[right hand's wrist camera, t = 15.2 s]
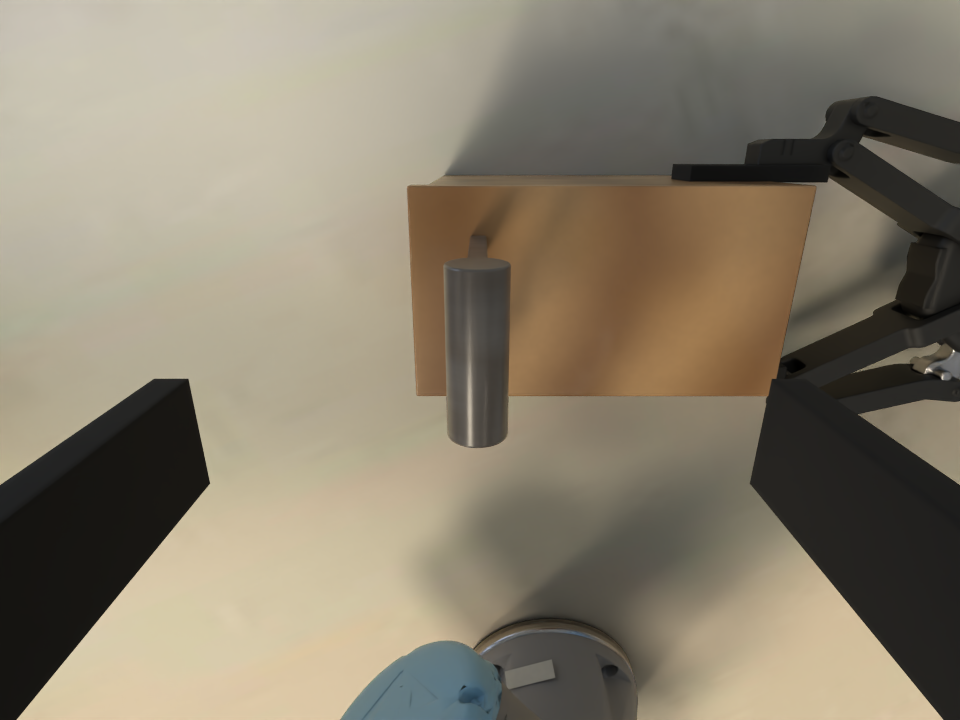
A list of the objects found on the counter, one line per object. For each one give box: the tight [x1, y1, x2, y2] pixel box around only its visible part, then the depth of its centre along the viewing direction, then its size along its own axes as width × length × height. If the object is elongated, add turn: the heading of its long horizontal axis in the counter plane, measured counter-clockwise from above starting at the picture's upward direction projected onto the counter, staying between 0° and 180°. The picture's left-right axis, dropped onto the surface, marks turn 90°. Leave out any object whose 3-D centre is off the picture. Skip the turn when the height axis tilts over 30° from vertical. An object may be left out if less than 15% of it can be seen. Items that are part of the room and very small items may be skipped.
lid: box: [407, 185, 816, 448], centre depth 21 cm, size 17×10×9 cm, turn 90°
